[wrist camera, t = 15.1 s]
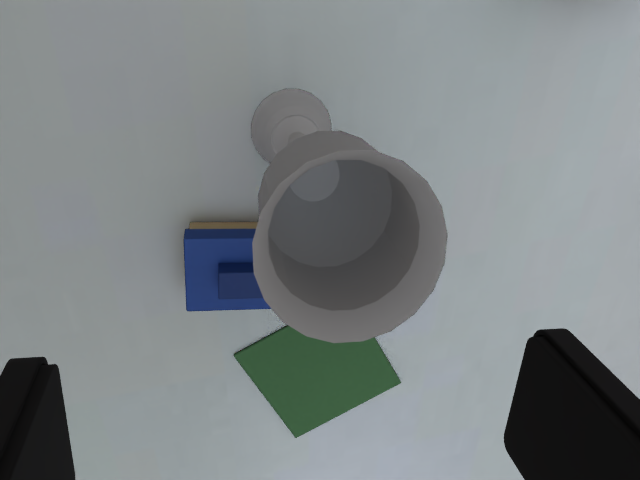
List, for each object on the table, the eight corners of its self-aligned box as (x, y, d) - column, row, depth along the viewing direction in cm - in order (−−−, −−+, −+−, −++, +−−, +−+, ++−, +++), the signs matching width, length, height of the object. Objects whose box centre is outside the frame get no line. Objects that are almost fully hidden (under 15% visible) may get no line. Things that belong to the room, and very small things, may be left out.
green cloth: (295, 436, 46) (295, 438, 46) (233, 354, 42) (233, 355, 42) (400, 381, 45) (401, 382, 45) (348, 292, 41) (348, 293, 41)
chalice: (225, 79, 34) (231, 170, 18) (337, 60, 35) (442, 131, 18) (248, 194, 37) (272, 360, 21) (351, 175, 38) (451, 322, 21)
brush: (189, 285, 39) (185, 323, 35) (186, 217, 37) (182, 248, 33) (374, 281, 41) (392, 316, 37) (381, 217, 39) (401, 246, 35)
